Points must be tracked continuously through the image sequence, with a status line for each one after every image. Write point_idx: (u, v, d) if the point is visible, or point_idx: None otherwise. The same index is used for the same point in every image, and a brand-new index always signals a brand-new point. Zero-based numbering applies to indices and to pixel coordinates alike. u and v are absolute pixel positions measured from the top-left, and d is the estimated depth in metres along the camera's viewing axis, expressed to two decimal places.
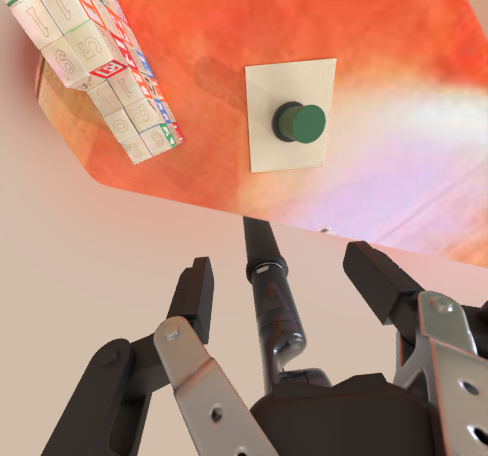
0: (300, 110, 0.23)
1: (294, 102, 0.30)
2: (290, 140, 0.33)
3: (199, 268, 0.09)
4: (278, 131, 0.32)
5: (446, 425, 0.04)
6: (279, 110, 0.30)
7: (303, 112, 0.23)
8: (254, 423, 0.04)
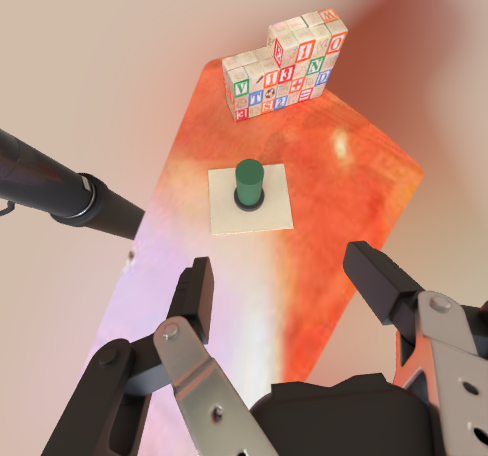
0: (260, 164, 0.29)
1: (263, 195, 0.37)
2: (235, 196, 0.37)
3: (199, 269, 0.09)
4: None
5: (446, 425, 0.04)
6: None
7: (258, 166, 0.29)
8: (254, 423, 0.04)
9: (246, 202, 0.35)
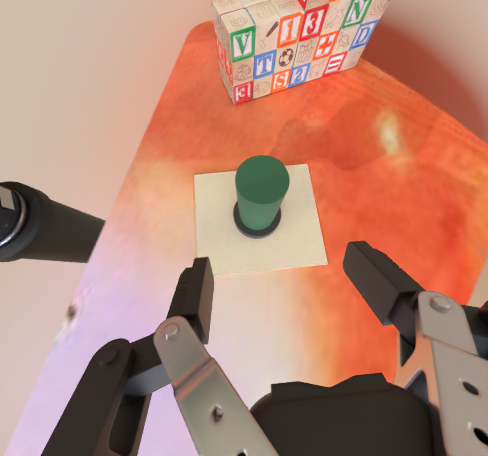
0: (281, 163, 0.15)
1: (280, 213, 0.23)
2: (235, 215, 0.23)
3: (200, 269, 0.09)
4: None
5: (446, 425, 0.04)
6: None
7: (278, 167, 0.15)
8: (254, 423, 0.04)
9: (253, 226, 0.22)
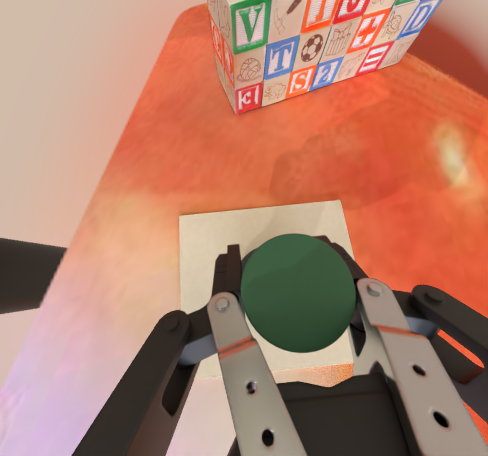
0: (334, 253, 0.08)
1: None
2: None
3: (234, 253, 0.10)
4: None
5: (446, 425, 0.04)
6: None
7: (331, 262, 0.07)
8: (285, 410, 0.04)
9: None
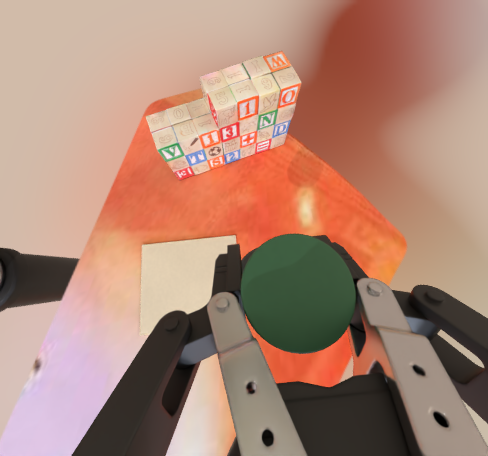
0: (334, 253, 0.08)
1: None
2: None
3: (234, 254, 0.10)
4: None
5: (446, 425, 0.04)
6: None
7: (331, 263, 0.07)
8: (285, 410, 0.04)
9: None
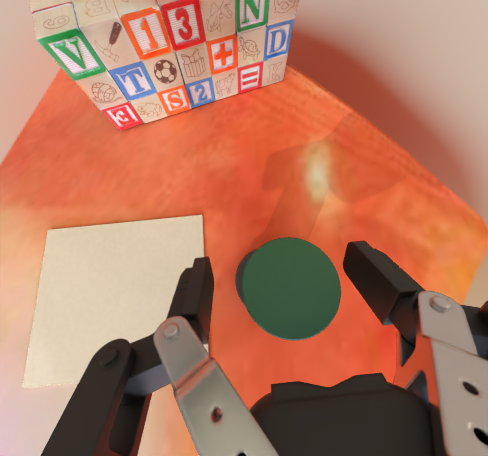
0: (323, 255, 0.09)
1: None
2: (239, 283, 0.17)
3: (200, 269, 0.09)
4: None
5: (446, 425, 0.04)
6: None
7: (319, 263, 0.09)
8: (254, 423, 0.04)
9: None
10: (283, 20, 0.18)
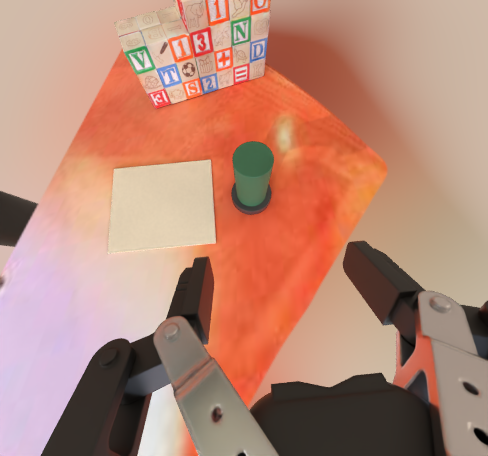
0: (267, 147, 0.20)
1: (270, 193, 0.28)
2: (233, 194, 0.28)
3: (199, 269, 0.09)
4: None
5: (446, 425, 0.04)
6: None
7: (265, 150, 0.20)
8: (254, 423, 0.04)
9: (248, 202, 0.26)
10: (260, 38, 0.30)
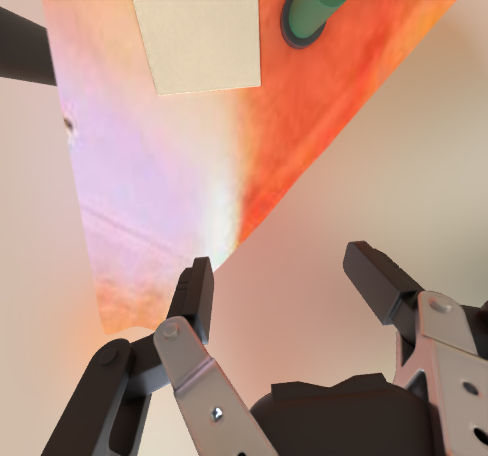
0: None
1: None
2: (284, 17, 0.25)
3: (200, 269, 0.09)
4: None
5: (446, 425, 0.04)
6: None
7: None
8: (254, 423, 0.04)
9: (302, 33, 0.25)
10: None
